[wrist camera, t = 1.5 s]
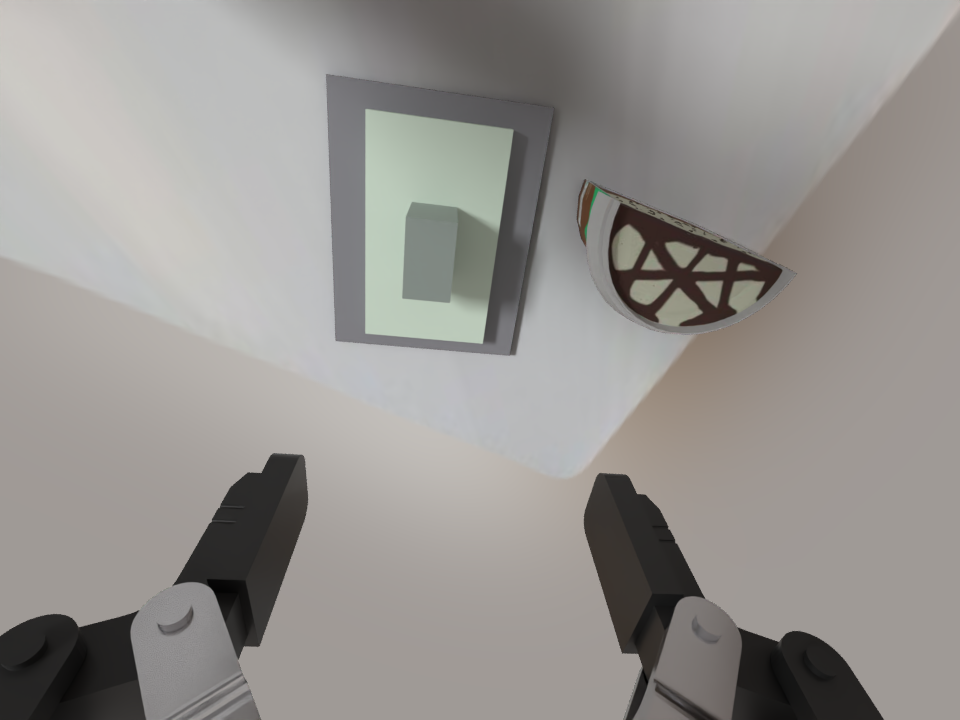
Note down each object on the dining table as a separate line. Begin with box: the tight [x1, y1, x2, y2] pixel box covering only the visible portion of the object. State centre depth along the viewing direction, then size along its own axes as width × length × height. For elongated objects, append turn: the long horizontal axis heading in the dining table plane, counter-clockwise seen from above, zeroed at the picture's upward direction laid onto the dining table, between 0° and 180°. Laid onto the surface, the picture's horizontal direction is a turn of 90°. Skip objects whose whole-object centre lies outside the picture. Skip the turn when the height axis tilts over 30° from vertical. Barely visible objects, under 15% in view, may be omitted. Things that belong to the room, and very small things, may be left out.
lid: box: [365, 109, 514, 344], centre depth 30 cm, size 9×15×6 cm, turn 173°
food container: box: [577, 179, 797, 335], centre depth 29 cm, size 12×6×10 cm, turn 70°
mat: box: [326, 74, 554, 356], centre depth 32 cm, size 14×18×1 cm
